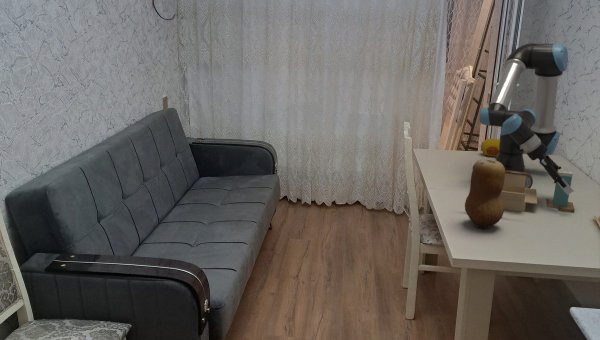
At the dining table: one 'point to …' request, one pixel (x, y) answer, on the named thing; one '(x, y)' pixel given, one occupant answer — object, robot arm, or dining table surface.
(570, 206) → the walnut board
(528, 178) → the tin
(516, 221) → the dining table surface
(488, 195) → the butternut squash
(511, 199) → the carton
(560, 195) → the teal box
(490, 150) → the lantern
